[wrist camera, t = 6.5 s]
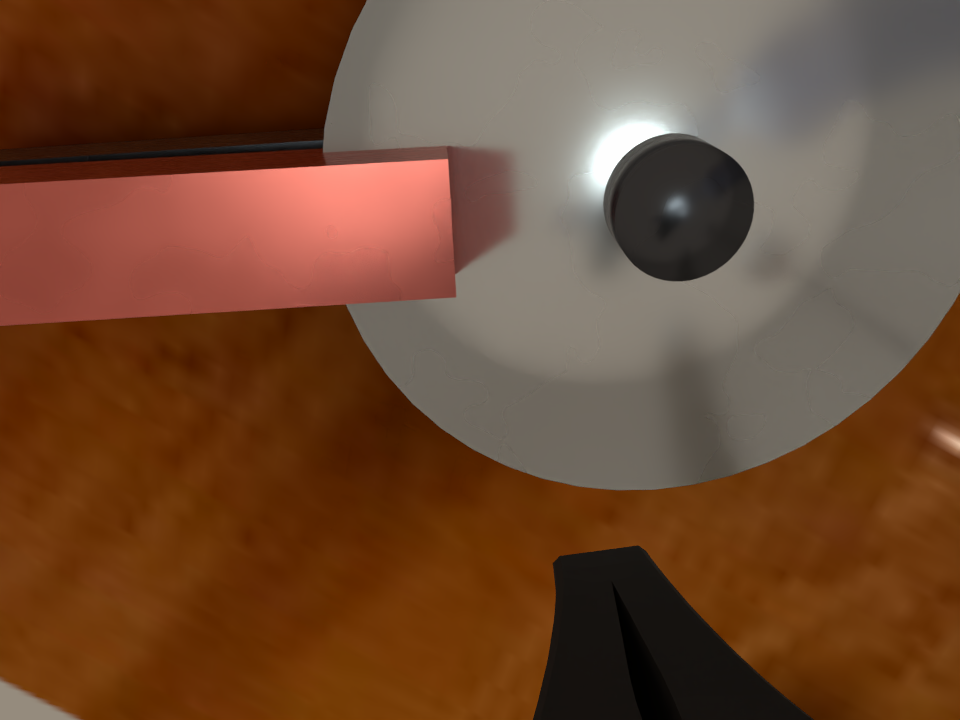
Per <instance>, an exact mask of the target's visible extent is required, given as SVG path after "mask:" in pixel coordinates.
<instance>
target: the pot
mask: <svg viewBox="0 0 960 720" xmlns="http://www.w3.org/2000/svg"><path fill="white" fill-rule="evenodd" d="M323 141H324V128H321V129H306V130H291V131H276V132H260V133H245V134H230V135H215V136H200V137H184V138H169V139H154V140H139V141H124V142H108V143H93V144H78V145H63V146H48V147H32V148H17V149H2V150H0V167H1V166H19V165H37V164H55V163H73V162H91V161H108V160H126V159H144V158H162V157H180V156H198V155H216V154H234V153H252V152H270V151H288V150H306V149H323Z"/></svg>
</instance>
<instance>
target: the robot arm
mask: <svg viewBox="0 0 960 720" xmlns="http://www.w3.org/2000/svg"><path fill="white" fill-rule="evenodd" d="M553 568H554V577H555V587H556V604H555V616H554V624H553V631H552V637H551V644H550V650H549V656H548V661H547V666H546V670H545V674H544V679H543V683H542V687H541V691H540V695H539V700H538V704H537V707H536V711H535V714H534V718H533V720H814V719H812V718H811V717H810V716H808V715H807V714H806V713H805V712H803V711H802V710H801V709H800V708H798V707H797V706H796V705H795V704H793V703H792V702H791V701H790V700H788V699H787V698H786V697H785V696H784V695H782V694H781V693H780V692H779V691H778V690H777V689H775V688H774V687H773V686H772V685H771V684H770V683H769V682H767V681H766V680H765V679H764V678H763V677H762V676H761V675H760V674H758V673H757V672H756V671H755V670H754V669H753V668H752V667H751V666H750V665H749V664H748V663H747V662H745V661H744V660H743V659H742V658H741V657H740V656H739V655H738V654H737V653H736V652H735V651H734V650H733V649H732V648H731V647H730V646H729V645H728V644H727V643H726V642H725V641H724V640H723V639H722V638H721V637H720V636H719V635H718V634H717V633H716V632H715V631H714V630H713V629H712V628H711V627H710V626H709V625H708V624H707V623H706V622H705V621H704V620H703V619H702V618H701V616H700V615H699V614H698V613H697V612H696V611H695V610H694V609H693V608H692V607H691V606H690V605H689V603H688V602H687V601H686V600H685V599H684V598H683V597H682V595H681V594H680V593H679V592H678V591H677V590H676V589H675V587H674V586H673V585H672V584H671V583H670V581H669V580H668V579H667V578H666V577H665V575H664V574H663V573H662V572H661V570H660V569H659V568H658V567H657V565H656V564H655V563H654V561H653V560H652V559H651V558H650V556H649V555H648V553H647V552H646V551H645V550H644V549H642V548H641V547H640V546H632V547H624V548H617V549H609V550H602V551H594V552H587V553H579V554H572V555H564V556H559V557H558V559H557V560H556V561H555V562H554V563H553Z"/></svg>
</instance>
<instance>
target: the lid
mask: <svg viewBox="0 0 960 720" xmlns="http://www.w3.org/2000/svg"><path fill="white" fill-rule="evenodd" d="M959 292H960V0H367V2H366V4H365V6H364V7H363V9H362V11H361V13H360V15H359V17H358V19H357V21H356V23H355V25H354V27H353V29H352V31H351V34H350V37H349V40H348V42H347V45H346V48H345V51H344V54H343V57H342V60H341V62H340V65H339V68H338V71H337V74H336V77H335V80H334V84H333V89H332V94H331V99H330V103H329V108H328V113H327V118H326V123H325V128H324V141H323V149H306V150H288V151H270V152H252V153H234V154H216V155H198V156H180V157H162V158H144V159H126V160H108V161H91V162H73V163H55V164H37V165H19V166H1V167H0V326H4V325H20V324H36V323H52V322H68V321H84V320H100V319H117V318H133V317H149V316H165V315H181V314H197V313H213V312H229V311H245V310H262V309H278V308H294V307H310V306H326V305H342V304H346V306H347V308H348V310H349V312H350V314H351V316H352V318H353V320H354V322H355V324H356V326H357V328H358V330H359V332H360V334H361V336H362V338H363V340H364V342H365V343H366V345H367V346H368V348H369V349H370V351H371V352H372V354H373V355H374V357H375V358H376V360H377V361H378V362H379V364H380V365H381V367H382V368H383V370H384V371H385V373H386V374H387V375H388V377H389V378H390V379H391V380H392V381H393V382H394V383H395V384H396V386H397V387H398V388H399V389H400V390H401V391H402V392H403V393H404V395H405V396H406V397H407V398H408V399H409V400H410V401H411V402H412V404H414V405H415V406H416V407H417V408H418V409H419V410H421V411H422V412H423V413H424V414H425V415H426V416H427V417H429V418H430V419H431V420H432V421H433V422H434V423H436V424H437V425H438V426H439V427H440V428H441V429H443V430H444V431H446V432H447V433H449V434H450V435H452V436H453V437H455V438H456V439H458V440H459V441H461V442H462V443H464V444H465V445H467V446H469V447H470V448H472V449H473V450H475V451H477V452H479V453H481V454H483V455H485V456H487V457H489V458H491V459H493V460H495V461H497V462H499V463H501V464H503V465H505V466H508V467H511V468H514V469H516V470H519V471H522V472H525V473H528V474H531V475H534V476H537V477H539V478H542V479H547V480H552V481H556V482H561V483H565V484H570V485H574V486H580V487H590V488H600V489H610V490H654V489H662V488H670V487H678V486H686V485H693V484H697V483H702V482H706V481H710V480H714V479H718V478H723V477H727V476H731V475H733V474H736V473H739V472H742V471H745V470H748V469H750V468H753V467H756V466H759V465H762V464H765V463H767V462H769V461H771V460H774V459H776V458H778V457H780V456H782V455H784V454H786V453H788V452H790V451H792V450H795V449H797V448H799V447H801V446H803V445H805V444H806V443H808V442H810V441H811V440H813V439H814V438H816V437H818V436H819V435H821V434H823V433H824V432H826V431H828V430H829V429H831V428H833V427H834V426H836V425H837V424H839V423H840V422H841V421H843V420H844V419H845V418H847V417H848V416H849V415H851V414H852V413H853V412H855V411H856V410H857V409H859V408H860V407H861V406H862V405H864V404H865V403H866V402H868V401H869V400H870V399H871V398H872V397H874V396H875V395H876V394H877V393H878V392H879V391H880V390H881V389H882V388H883V387H884V386H885V385H886V384H887V383H889V382H890V381H891V380H892V379H893V378H894V377H895V376H896V375H897V374H898V373H899V372H900V371H901V370H902V369H903V368H904V367H905V366H906V364H907V363H908V362H909V361H910V360H911V359H912V357H913V356H914V355H915V354H916V353H917V352H918V351H919V349H920V348H921V347H922V346H923V345H924V344H925V342H926V341H927V340H928V339H929V338H930V336H931V335H932V333H933V332H934V330H935V329H936V328H937V326H938V325H939V323H940V322H941V320H942V319H943V318H944V316H945V315H946V313H947V312H948V310H949V309H950V308H951V306H952V305H953V303H954V301H955V300H956V298H957V296H958V294H959Z"/></svg>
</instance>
